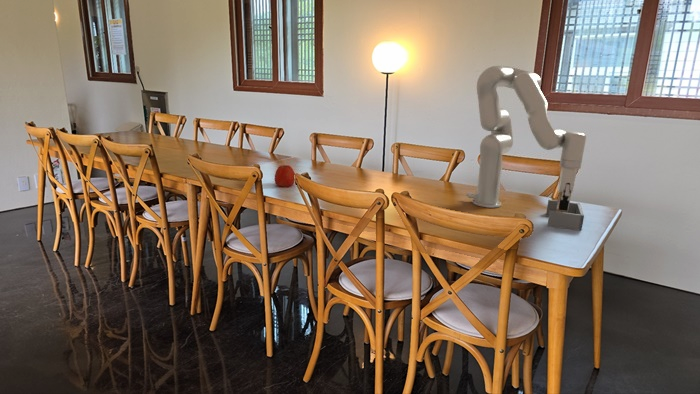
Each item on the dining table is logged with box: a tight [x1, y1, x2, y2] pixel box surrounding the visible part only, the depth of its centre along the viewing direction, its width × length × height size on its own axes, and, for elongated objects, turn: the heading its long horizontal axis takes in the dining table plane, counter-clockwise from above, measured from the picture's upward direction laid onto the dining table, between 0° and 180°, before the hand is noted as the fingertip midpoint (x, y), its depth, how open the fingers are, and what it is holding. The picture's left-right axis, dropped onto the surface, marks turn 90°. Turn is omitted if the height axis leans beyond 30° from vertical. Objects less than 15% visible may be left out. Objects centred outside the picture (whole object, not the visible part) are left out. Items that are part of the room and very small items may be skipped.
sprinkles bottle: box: [556, 191, 572, 213], centre depth 178 cm, size 5×5×14 cm
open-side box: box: [545, 199, 585, 231], centre depth 179 cm, size 12×18×6 cm, turn 158°
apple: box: [274, 164, 296, 188], centre depth 220 cm, size 10×10×10 cm
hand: (562, 207), depth 179 cm, fingers closed on sprinkles bottle, 4 cm apart
